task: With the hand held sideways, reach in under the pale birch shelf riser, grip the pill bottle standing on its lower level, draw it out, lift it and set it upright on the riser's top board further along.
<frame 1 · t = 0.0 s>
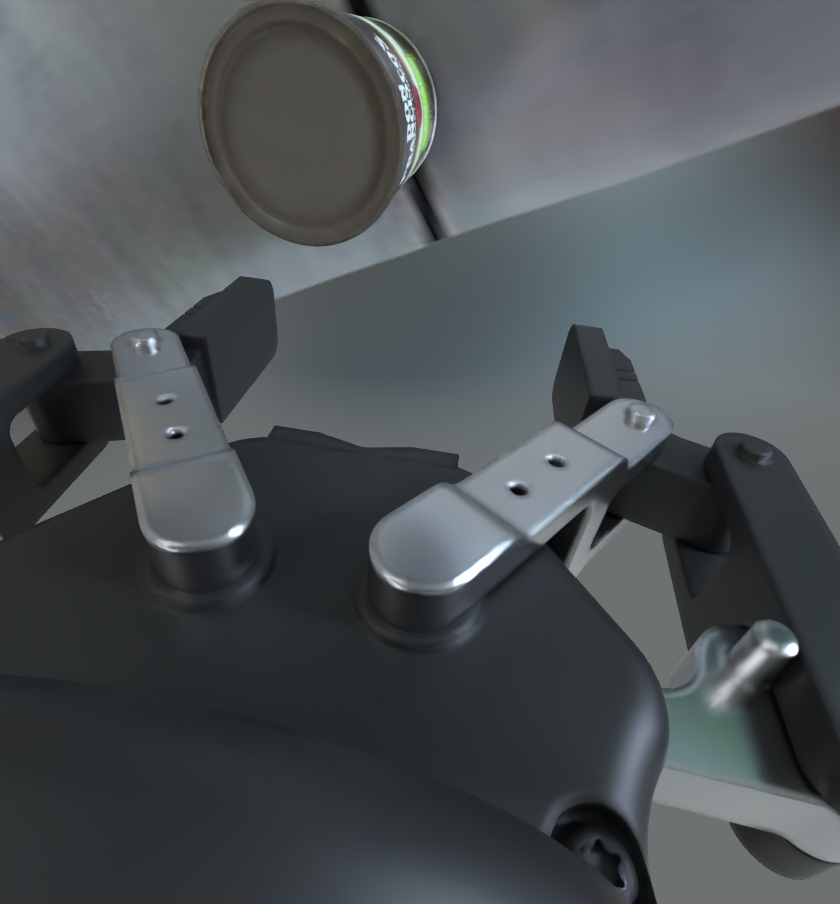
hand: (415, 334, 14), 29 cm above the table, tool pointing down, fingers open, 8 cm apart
coffee can: (365, 110, 36), on the table
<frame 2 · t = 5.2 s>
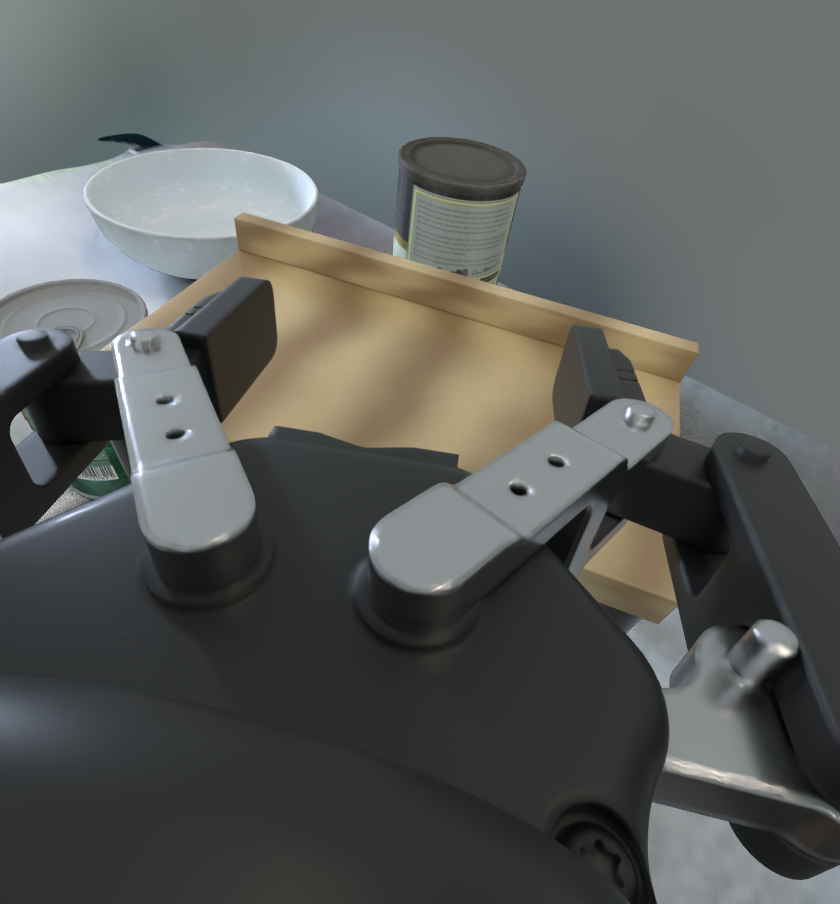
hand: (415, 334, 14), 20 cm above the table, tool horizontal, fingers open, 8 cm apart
canned tomato: (129, 457, 35), on the table
serving bowl: (219, 255, 54), on the table
shelf riser: (382, 562, 32), on the table
coffee can: (438, 313, 51), on the table
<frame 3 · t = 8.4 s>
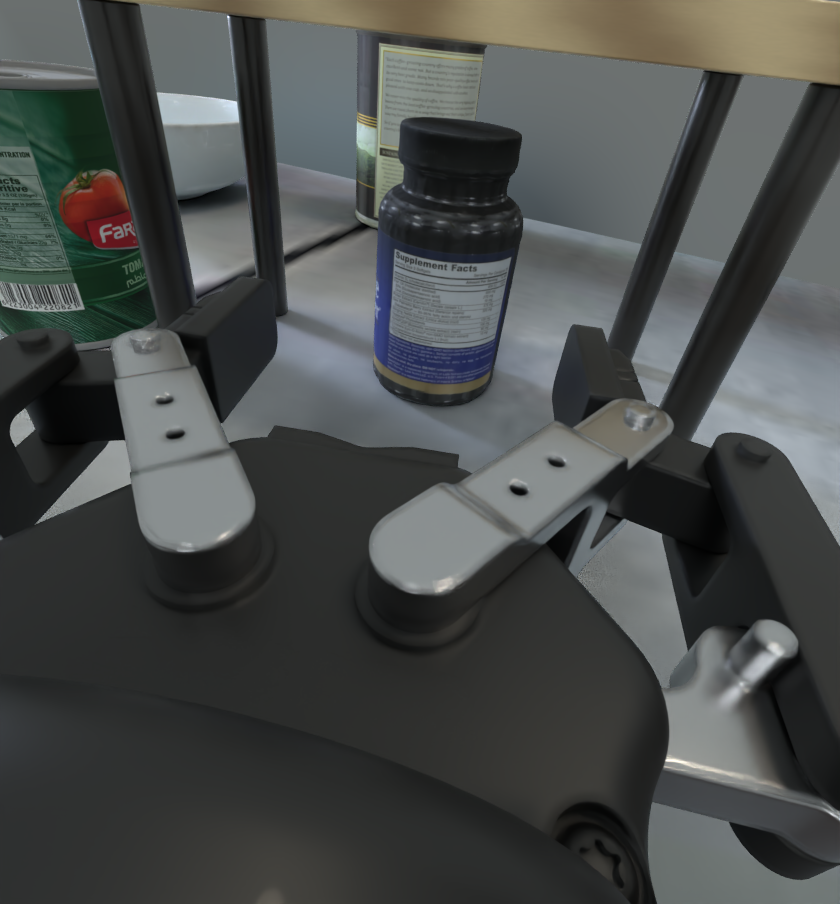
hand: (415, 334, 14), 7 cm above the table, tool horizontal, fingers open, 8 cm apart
pill bottle: (431, 380, 26), on the table
canned tomato: (89, 321, 28), on the table
serving bowl: (159, 191, 49), on the table
shelf riser: (432, 377, 26), on the table
coffee can: (408, 221, 49), on the table
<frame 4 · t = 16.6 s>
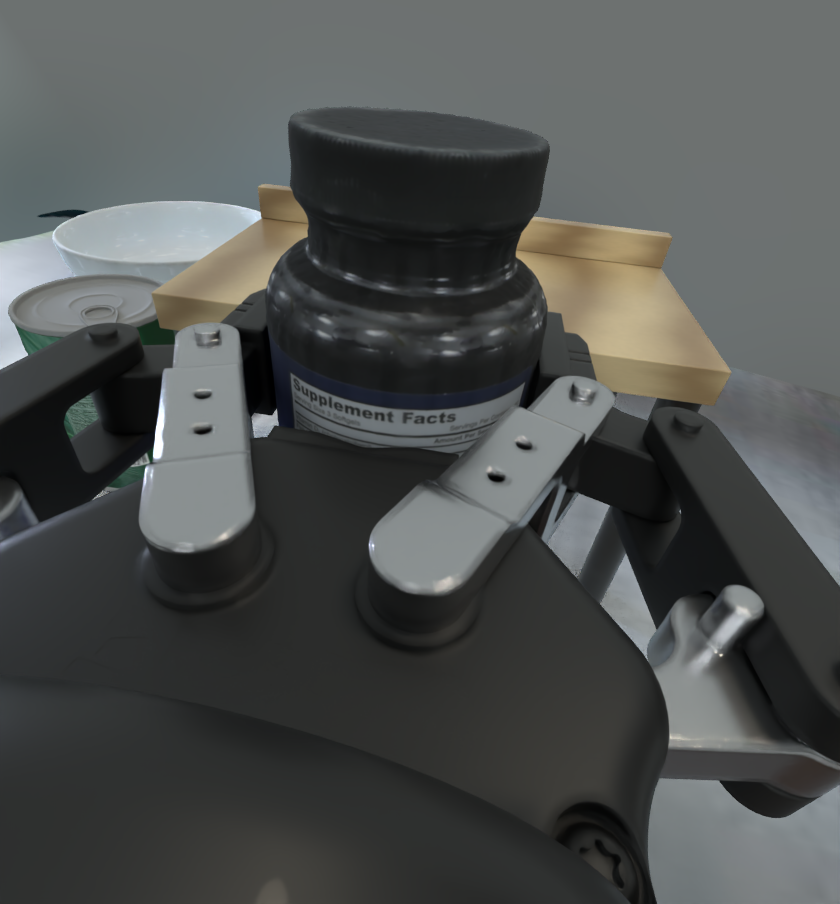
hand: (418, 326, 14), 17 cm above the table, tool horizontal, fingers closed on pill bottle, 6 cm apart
pill bottle: (390, 540, 16), point 11 cm above the table, touching gripper
canned tomato: (146, 456, 35), on the table
serving bowl: (186, 293, 56), on the table
shelf riser: (421, 504, 33), on the table
when the fingers open (21 cm above the table, at t = 22.1 s): pill bottle stays where it is, resting on shelf riser.
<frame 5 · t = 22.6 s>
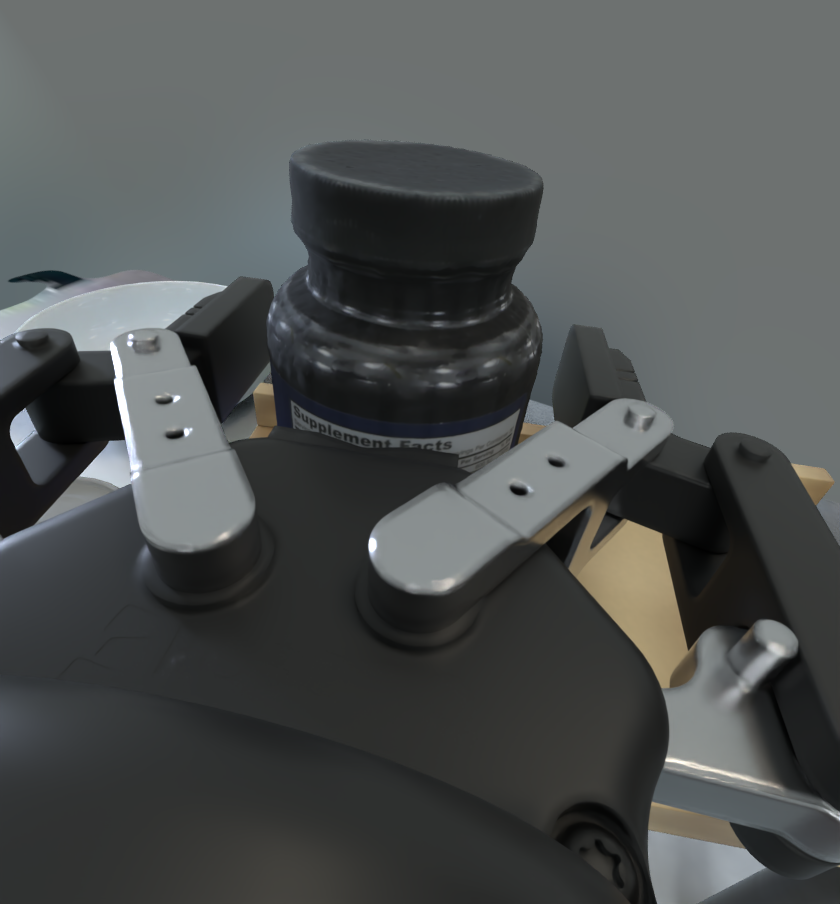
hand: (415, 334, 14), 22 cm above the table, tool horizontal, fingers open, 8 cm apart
pill bottle: (389, 555, 16), point 15 cm above the table, touching shelf riser
canned tomato: (109, 680, 27), on the table
serving bowl: (172, 394, 48), on the table
shelf riser: (462, 760, 26), on the table
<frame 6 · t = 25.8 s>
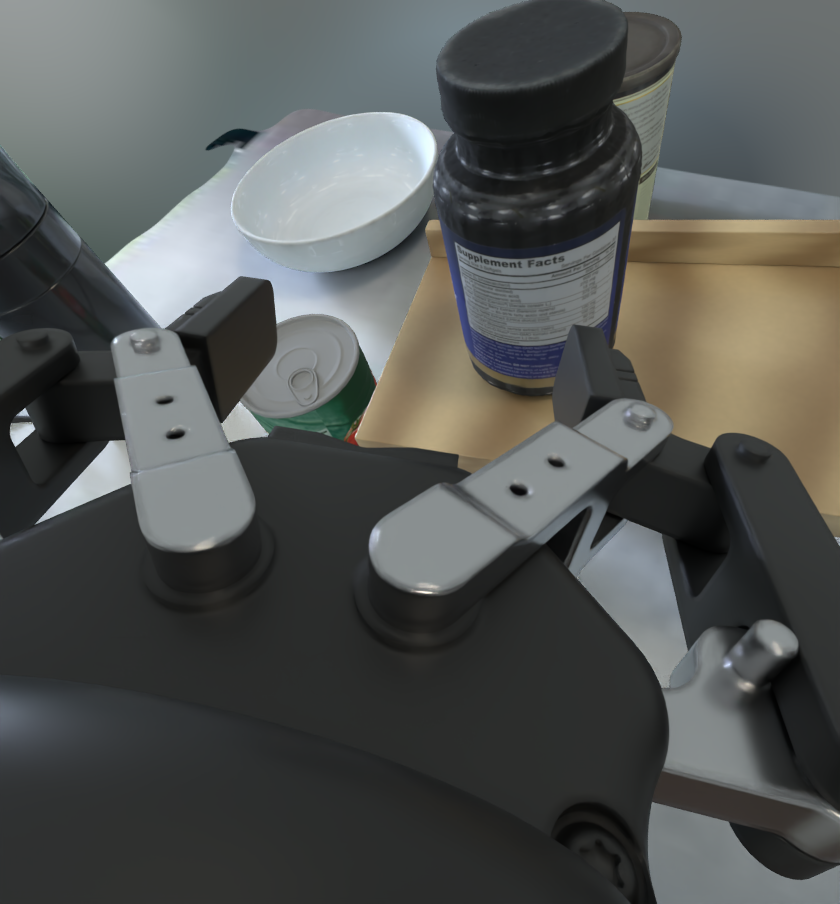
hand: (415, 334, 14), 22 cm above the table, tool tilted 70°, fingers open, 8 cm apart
pill bottle: (538, 348, 22), point 15 cm above the table, touching shelf riser
canned tomato: (354, 456, 40), on the table
serving bowl: (353, 234, 55), on the table
shelf riser: (614, 510, 33), on the table
coffee can: (588, 226, 47), on the table
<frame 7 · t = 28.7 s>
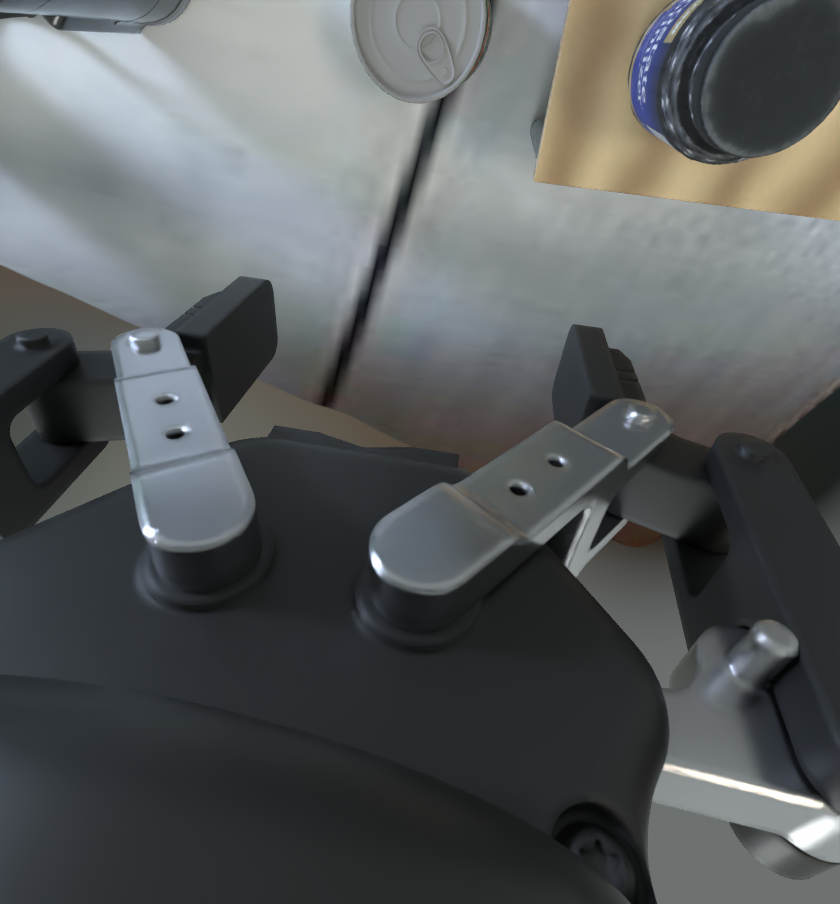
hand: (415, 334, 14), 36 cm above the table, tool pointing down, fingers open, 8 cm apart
pill bottle: (688, 69, 26), point 15 cm above the table, touching shelf riser
canned tomato: (438, 26, 38), on the table
shelf riser: (696, 68, 37), on the table
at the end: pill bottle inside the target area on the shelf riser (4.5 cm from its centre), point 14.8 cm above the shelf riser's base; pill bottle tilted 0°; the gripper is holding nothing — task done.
